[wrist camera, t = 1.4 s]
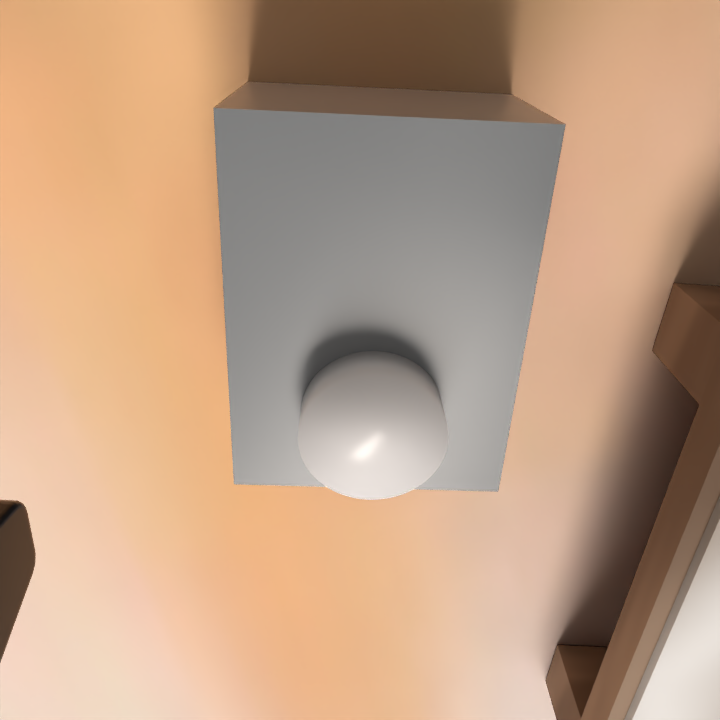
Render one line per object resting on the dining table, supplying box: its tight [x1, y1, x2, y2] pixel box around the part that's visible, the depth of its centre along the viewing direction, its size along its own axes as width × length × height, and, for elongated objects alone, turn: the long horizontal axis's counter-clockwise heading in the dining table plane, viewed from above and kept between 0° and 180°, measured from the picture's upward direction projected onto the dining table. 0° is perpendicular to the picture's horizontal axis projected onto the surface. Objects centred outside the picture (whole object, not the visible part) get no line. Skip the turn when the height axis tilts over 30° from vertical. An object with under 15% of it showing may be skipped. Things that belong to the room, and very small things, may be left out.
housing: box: [214, 81, 566, 500], centre depth 15 cm, size 6×8×6 cm
